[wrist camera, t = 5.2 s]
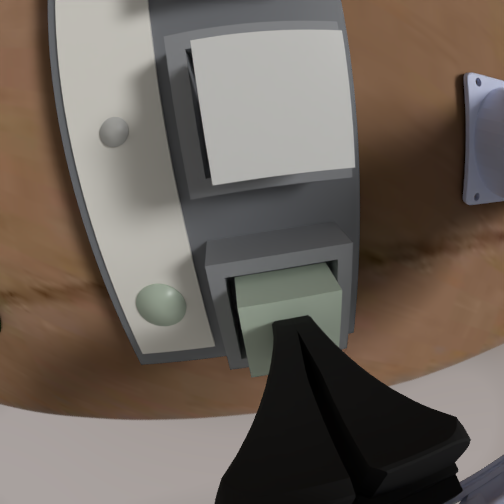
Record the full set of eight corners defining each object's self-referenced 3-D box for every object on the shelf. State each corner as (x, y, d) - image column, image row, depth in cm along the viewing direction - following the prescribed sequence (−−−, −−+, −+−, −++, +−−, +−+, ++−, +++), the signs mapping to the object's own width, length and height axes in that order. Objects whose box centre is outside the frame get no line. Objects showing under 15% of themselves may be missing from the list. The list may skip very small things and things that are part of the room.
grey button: (317, 43, 8) (342, 30, 6) (329, 154, 9) (355, 167, 7) (196, 54, 7) (190, 40, 6) (214, 169, 9) (212, 185, 7)
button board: (299, -96, 7) (321, -137, 4) (342, 311, 18) (367, 359, 14) (68, -56, 7) (33, -85, 3) (146, 341, 18) (134, 394, 14)
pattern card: (142, -91, 6) (141, -94, 5) (215, 343, 16) (215, 347, 15) (60, -61, 6) (57, -63, 5) (143, 351, 16) (142, 355, 15)
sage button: (325, 262, 12) (342, 289, 10) (325, 330, 14) (337, 360, 12) (234, 277, 12) (237, 308, 10) (247, 344, 14) (251, 377, 12)
